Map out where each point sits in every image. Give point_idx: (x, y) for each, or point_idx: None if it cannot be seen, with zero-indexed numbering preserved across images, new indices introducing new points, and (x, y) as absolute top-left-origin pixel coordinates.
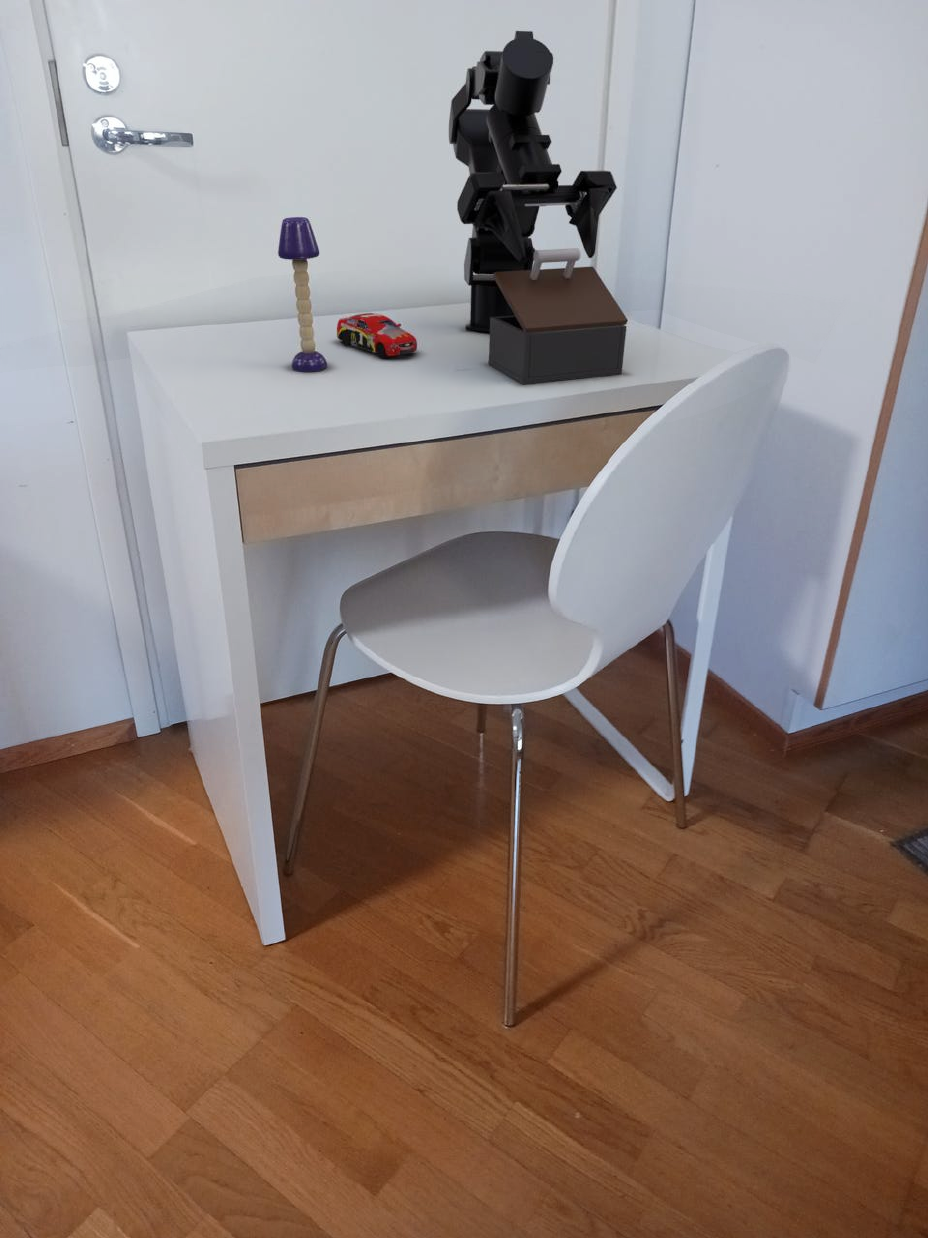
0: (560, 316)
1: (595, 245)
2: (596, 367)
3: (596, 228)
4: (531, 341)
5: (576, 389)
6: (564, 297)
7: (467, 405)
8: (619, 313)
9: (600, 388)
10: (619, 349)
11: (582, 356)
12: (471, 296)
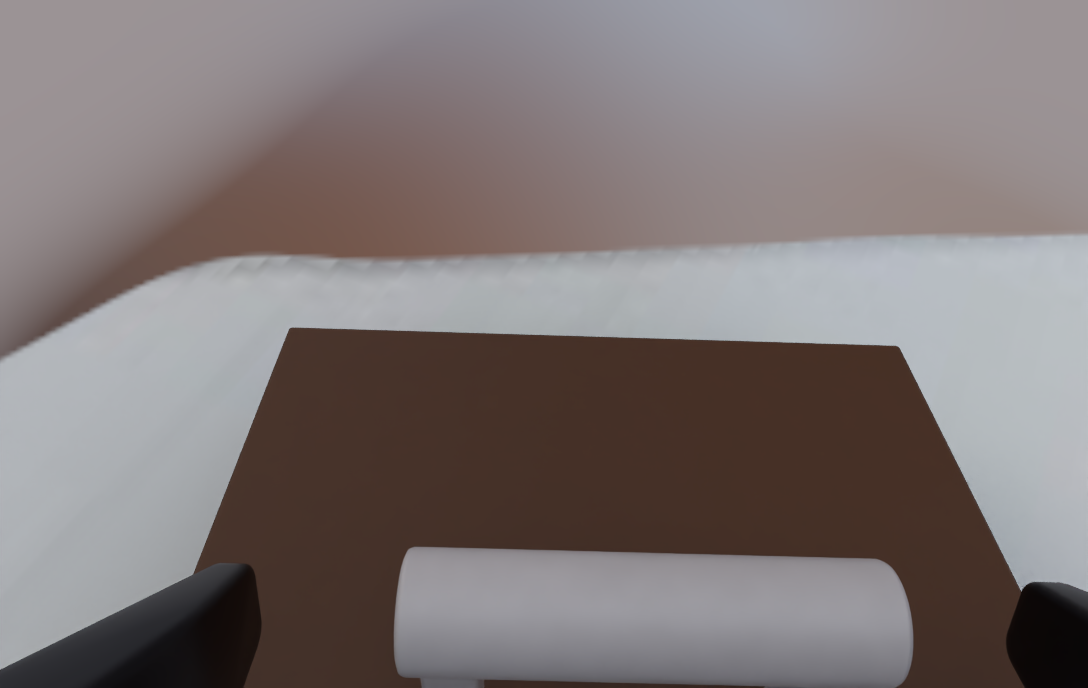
0: (680, 385)
1: (170, 588)
2: None
3: (3, 675)
4: None
5: (632, 307)
6: (590, 509)
7: (1074, 283)
8: (301, 366)
9: (542, 287)
10: None
11: None
12: None
